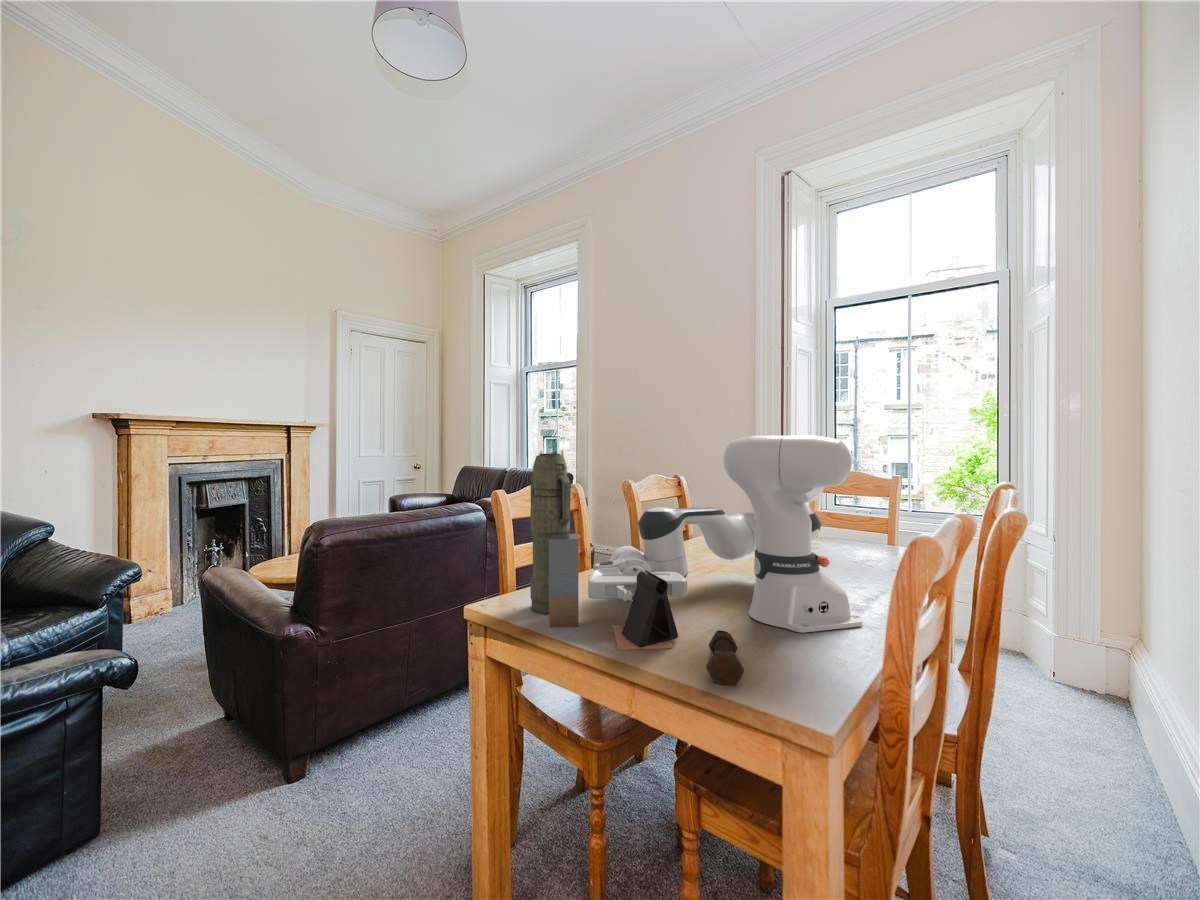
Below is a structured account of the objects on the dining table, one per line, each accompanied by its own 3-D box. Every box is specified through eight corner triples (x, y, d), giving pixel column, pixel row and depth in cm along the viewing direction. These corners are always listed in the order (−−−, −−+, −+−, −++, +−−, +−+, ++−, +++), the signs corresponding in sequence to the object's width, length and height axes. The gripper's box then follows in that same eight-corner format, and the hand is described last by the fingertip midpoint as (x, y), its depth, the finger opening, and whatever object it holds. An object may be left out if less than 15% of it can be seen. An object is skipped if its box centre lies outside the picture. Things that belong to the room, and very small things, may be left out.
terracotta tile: (661, 626, 107) (661, 624, 107) (672, 648, 96) (672, 645, 96) (613, 627, 106) (613, 625, 106) (618, 649, 95) (618, 647, 95)
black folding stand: (659, 625, 104) (662, 567, 103) (678, 638, 99) (681, 576, 98) (621, 634, 100) (623, 573, 99) (638, 648, 95) (641, 583, 93)
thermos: (557, 619, 111) (557, 454, 110) (518, 608, 118) (517, 453, 117) (583, 608, 118) (583, 453, 117) (544, 598, 125) (544, 452, 124)
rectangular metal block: (579, 616, 113) (579, 533, 112) (580, 626, 107) (579, 539, 106) (550, 617, 112) (549, 533, 112) (549, 627, 106) (548, 539, 106)
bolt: (726, 658, 96) (730, 695, 81) (702, 643, 97) (701, 676, 82) (742, 632, 95) (749, 664, 81) (718, 616, 96) (720, 646, 81)
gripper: (680, 590, 114) (695, 612, 100) (587, 592, 113) (589, 614, 99) (680, 562, 114) (695, 579, 100) (586, 563, 113) (589, 581, 99)
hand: (641, 597), depth 100 cm, fingers open, 4 cm apart
